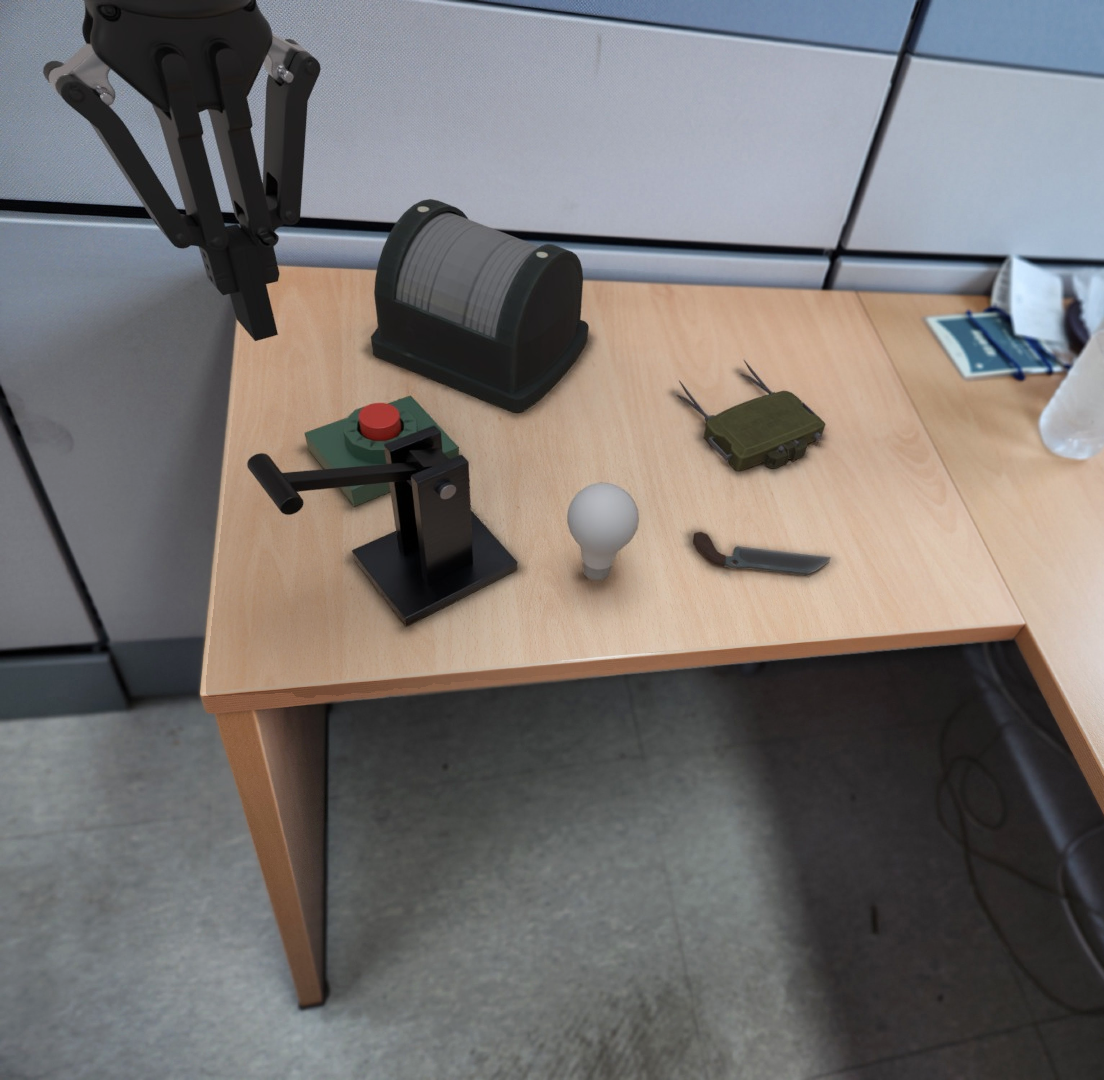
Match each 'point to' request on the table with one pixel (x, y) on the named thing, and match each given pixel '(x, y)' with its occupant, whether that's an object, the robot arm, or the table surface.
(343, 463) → the button box
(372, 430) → the button
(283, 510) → the switch lever
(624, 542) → the lightbulb
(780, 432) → the landmine
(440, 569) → the switch bracket
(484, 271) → the light fixture
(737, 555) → the knife
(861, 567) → the table surface
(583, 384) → the table surface
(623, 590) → the table surface
